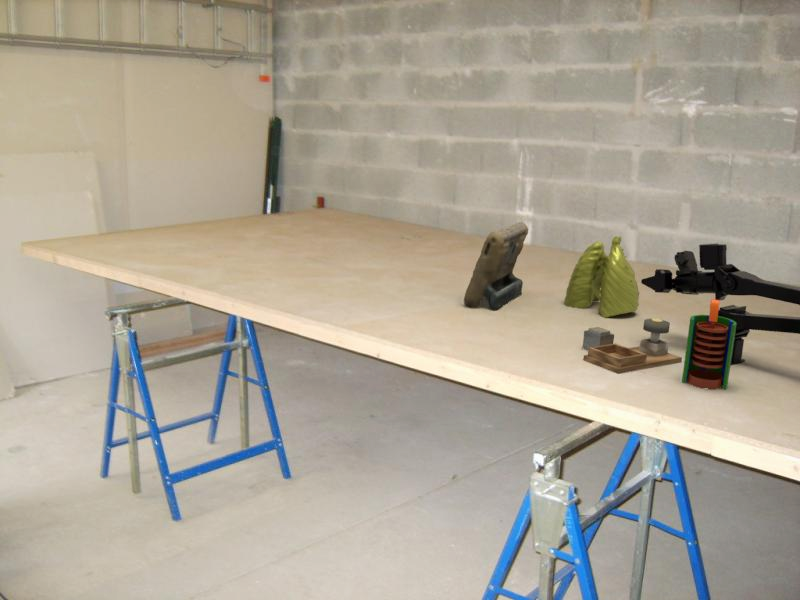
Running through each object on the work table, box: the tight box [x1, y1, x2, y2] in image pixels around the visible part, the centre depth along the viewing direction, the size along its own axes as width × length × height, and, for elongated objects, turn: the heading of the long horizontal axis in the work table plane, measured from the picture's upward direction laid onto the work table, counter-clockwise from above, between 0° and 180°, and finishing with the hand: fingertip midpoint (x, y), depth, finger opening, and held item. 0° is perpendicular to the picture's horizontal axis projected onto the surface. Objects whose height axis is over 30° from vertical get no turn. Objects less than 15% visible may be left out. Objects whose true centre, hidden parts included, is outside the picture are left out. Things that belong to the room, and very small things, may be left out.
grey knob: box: [642, 317, 671, 343], centre depth 212 cm, size 6×6×6 cm
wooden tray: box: [582, 337, 683, 375], centre depth 209 cm, size 12×23×4 cm, turn 122°
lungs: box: [563, 235, 640, 318], centre depth 262 cm, size 25×16×24 cm, turn 34°
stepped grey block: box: [582, 326, 615, 351], centre depth 217 cm, size 6×5×6 cm
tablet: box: [463, 221, 529, 311], centre depth 269 cm, size 33×14×25 cm, turn 161°
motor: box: [681, 298, 737, 390], centre depth 192 cm, size 10×9×20 cm
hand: (651, 282), depth 230 cm, fingers open, 9 cm apart
